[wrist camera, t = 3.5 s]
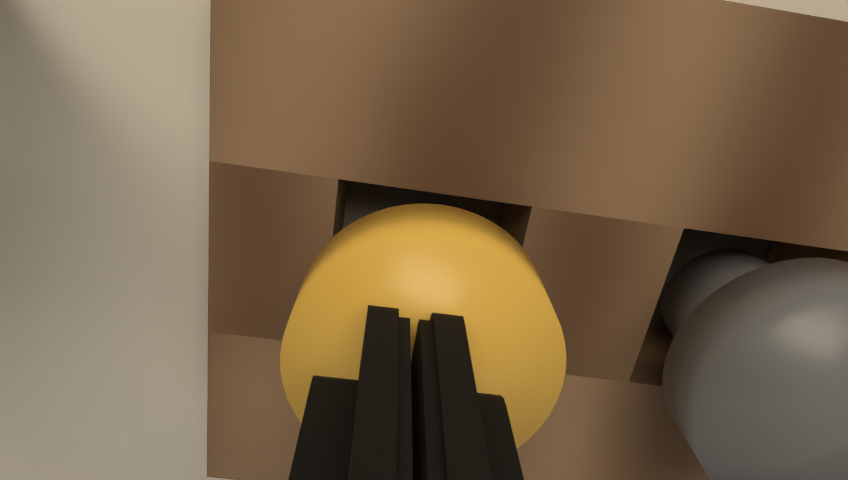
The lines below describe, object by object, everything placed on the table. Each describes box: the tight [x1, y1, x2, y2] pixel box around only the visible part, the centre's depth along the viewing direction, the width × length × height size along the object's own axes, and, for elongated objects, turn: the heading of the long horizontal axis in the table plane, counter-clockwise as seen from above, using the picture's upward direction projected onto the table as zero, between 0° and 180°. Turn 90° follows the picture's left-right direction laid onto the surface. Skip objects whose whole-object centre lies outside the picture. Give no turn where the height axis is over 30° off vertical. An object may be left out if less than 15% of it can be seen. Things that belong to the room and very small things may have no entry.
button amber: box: [280, 203, 566, 448], centre depth 13 cm, size 5×5×5 cm
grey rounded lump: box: [662, 248, 848, 480], centre depth 13 cm, size 5×5×5 cm
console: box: [207, 0, 848, 480], centre depth 16 cm, size 26×14×3 cm, turn 81°
